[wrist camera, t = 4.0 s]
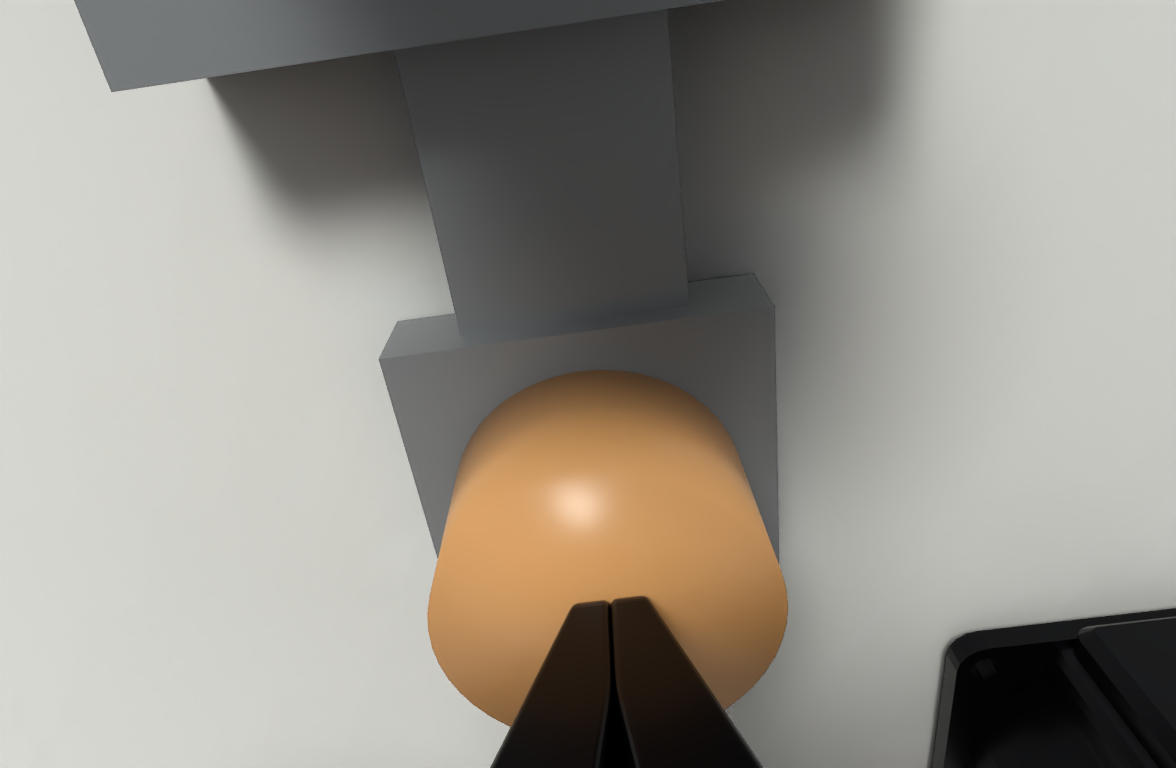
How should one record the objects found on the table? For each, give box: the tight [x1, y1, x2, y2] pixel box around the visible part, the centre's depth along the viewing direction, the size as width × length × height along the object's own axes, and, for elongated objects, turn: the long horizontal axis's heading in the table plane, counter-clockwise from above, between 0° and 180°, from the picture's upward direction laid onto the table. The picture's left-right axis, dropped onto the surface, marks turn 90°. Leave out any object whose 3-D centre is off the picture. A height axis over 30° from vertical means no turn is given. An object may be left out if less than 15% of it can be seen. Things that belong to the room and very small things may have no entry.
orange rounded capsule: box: [428, 370, 788, 727], centre depth 10 cm, size 4×4×4 cm
